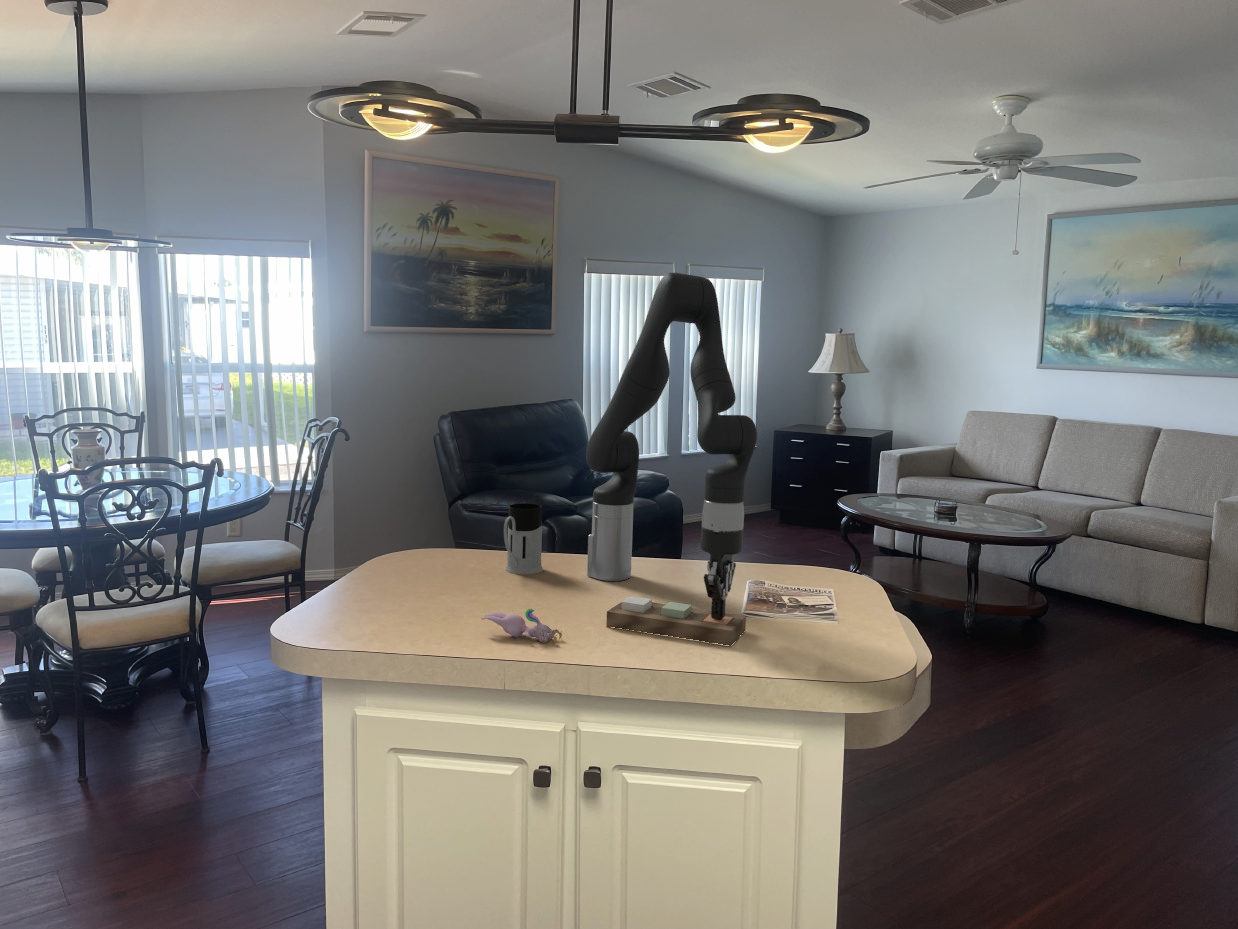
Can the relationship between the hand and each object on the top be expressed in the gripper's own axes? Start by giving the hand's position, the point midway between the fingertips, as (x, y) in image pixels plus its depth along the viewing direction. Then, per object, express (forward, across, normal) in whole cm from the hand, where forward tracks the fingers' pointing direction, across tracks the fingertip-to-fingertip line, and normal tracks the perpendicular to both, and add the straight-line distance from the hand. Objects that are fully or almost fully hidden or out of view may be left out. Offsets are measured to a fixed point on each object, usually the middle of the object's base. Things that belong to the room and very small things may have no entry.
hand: (717, 618), depth 164 cm
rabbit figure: (+4, +18, -31) cm, 36 cm away
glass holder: (+4, -23, -54) cm, 59 cm away
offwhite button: (+2, 0, -16) cm, 16 cm away
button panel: (+3, 0, -8) cm, 9 cm away
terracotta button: (+3, 0, 0) cm, 3 cm away
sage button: (+2, 0, -8) cm, 8 cm away
